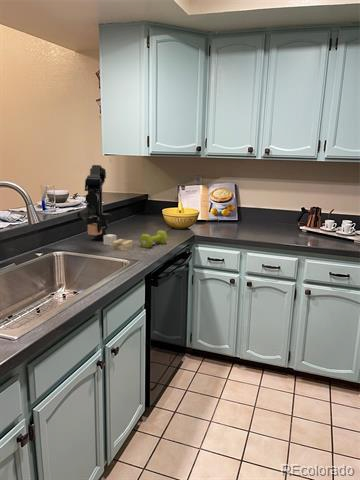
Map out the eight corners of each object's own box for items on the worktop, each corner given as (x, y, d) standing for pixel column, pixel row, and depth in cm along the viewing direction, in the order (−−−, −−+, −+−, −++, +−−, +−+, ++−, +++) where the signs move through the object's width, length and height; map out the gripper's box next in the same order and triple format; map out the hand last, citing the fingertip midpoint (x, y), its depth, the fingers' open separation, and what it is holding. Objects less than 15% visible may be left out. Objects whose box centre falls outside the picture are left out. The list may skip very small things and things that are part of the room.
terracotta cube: (87, 234, 197) (87, 224, 196) (94, 232, 201) (94, 223, 200) (95, 235, 194) (95, 225, 193) (101, 233, 199) (101, 224, 198)
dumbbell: (148, 249, 203) (149, 236, 201) (138, 246, 208) (138, 233, 206) (168, 244, 215) (169, 231, 214) (158, 241, 220) (158, 229, 219)
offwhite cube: (103, 244, 210) (103, 235, 209) (109, 242, 215) (109, 234, 213) (110, 245, 208) (110, 236, 207) (116, 244, 212) (116, 235, 211)
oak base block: (112, 249, 202) (111, 242, 201) (120, 246, 209) (120, 238, 208) (125, 251, 198) (125, 243, 198) (133, 247, 206) (133, 240, 205)
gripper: (68, 201, 192) (70, 232, 195) (97, 205, 183) (98, 237, 186) (84, 199, 201) (85, 228, 205) (112, 202, 192) (112, 233, 196)
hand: (94, 231), depth 198 cm, fingers closed on terracotta cube, 5 cm apart
